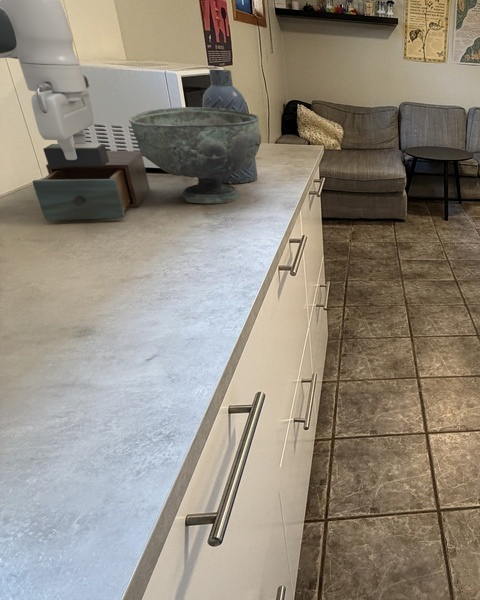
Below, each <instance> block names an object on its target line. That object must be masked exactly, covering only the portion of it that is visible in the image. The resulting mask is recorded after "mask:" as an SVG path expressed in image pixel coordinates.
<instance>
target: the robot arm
mask: <svg viewBox="0 0 480 600" xmlns="http://www.w3.org/2000/svg"><path fill="white" fill-rule="evenodd" d="M73 42H74V38H73V35H72V31H71V27H70V24H69V21H68V18H67V15H66V12H65V10H64V7H63V5H62V2H61V0H0V59H15V60H16V59H17V60H18V62H19V66H20V68H21V72H22V75H23V78H24V81H25V85H26V87H27V90H28V91H30V92H35V94H33V95H31V100H30V101H31V106H32V111H33V114H34V115H33V116H34V119H35V123H36V126H37V130H38V133H39V135H40V137H41V138H42V139H43V140H45V141H56V142H57V144H59V145H60V147H61V148H62V150H63V152H64V155H65V158H66V159H67V160H76V159H77V158H78V153H77V150H76V149H75V148H74V145H73V144H87V133H86V129H88V128H89V127H91V126H93V125H94V113H93V106H92V104H91V97H90V93H89V91H88V89H90V83H89V79H88V77H87V76H86V75H85V74H84V73H83V71H82V68H81V64H80V61H79V60H78V58H77V56H76V54H75V51H74V44H73Z"/></svg>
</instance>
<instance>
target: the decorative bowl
mask: <svg viewBox="0 0 480 600" xmlns="http://www.w3.org/2000/svg"><path fill="white" fill-rule="evenodd" d="M259 119H260V117H259V115H257V114H254V113H249V112H248V113H245V112H238V111H235V110H227V109H217V108H206V107H203V106H202V107H201V106H199V107H198V106H189V107H188V106H185V107H183V106H182V107H166V108H158V109H149V110H145V111H143V112H141V113H140V112H137V113H135V114H133V115H131V116H129V117H128V119H127V120H128V122H129V123H130V125H131V129H132V132H133V135H134V137H135V140H136V142H137V147H138V151H141V153H142V157H143V158H145V159H147V160H148V161H150V162H151V163H152V164H154V165H155V166H157V167H158V168H160V169H161V170H162V171H164V172H166V173H168V174H171V175H173V176H179V177H187V178H191V179H194V178H197V180H198V182H197V183H196V184H193V185H189V186H188V187H185V188H184V190H183V192H182V196H183V198H184V200H185V202H187V203H194V204H223V203H230V202H233V201H236V200H239V199H240V196H241V194H240V191H239V190H238V188H236V187H235V186H232V185H231V184H228V183H221V182H220V181H219V177H224V176H228V175H231V174H233V173H236V172H238V171H240V170H242V169H243V168H245V167H246V166H247V165H248V164H250V163H251V161H252V160H253V159H254V158H255V159H256V156H257V154H258V152H259V150H260V146H261V144H262V134H261V130H260V127H259Z"/></svg>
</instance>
